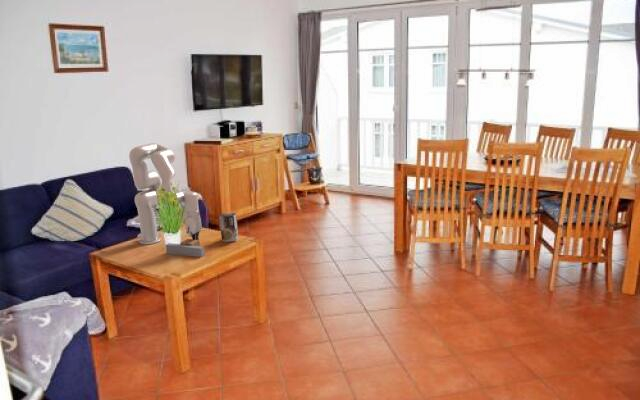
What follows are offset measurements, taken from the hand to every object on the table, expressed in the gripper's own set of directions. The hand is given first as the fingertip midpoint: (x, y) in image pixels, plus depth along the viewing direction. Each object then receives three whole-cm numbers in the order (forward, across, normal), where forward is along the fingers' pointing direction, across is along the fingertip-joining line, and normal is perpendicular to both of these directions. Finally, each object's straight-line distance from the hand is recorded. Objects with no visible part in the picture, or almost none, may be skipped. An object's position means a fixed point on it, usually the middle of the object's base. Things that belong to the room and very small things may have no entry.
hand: (196, 243), depth 315 cm
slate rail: (+3, +11, 0) cm, 11 cm away
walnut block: (+3, +6, 0) cm, 6 cm away
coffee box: (+3, -17, +12) cm, 22 cm away
